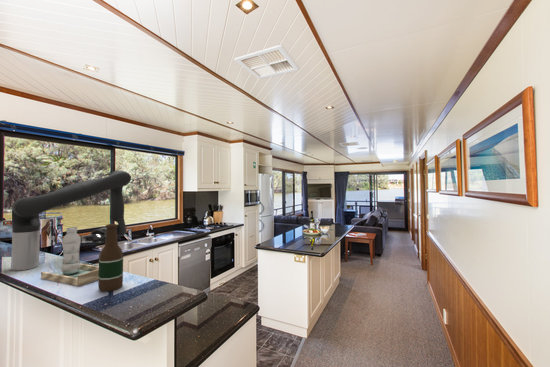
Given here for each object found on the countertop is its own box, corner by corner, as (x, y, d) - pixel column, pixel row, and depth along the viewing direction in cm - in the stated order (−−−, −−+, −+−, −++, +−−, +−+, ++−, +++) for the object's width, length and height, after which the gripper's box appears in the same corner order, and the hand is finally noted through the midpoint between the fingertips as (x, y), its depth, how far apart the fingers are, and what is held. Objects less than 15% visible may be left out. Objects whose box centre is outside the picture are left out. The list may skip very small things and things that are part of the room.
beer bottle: (127, 285, 96) (128, 223, 96) (108, 293, 88) (109, 226, 89) (112, 283, 98) (113, 222, 99) (92, 290, 91) (94, 225, 92)
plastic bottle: (84, 271, 111) (85, 226, 111) (70, 276, 104) (71, 229, 105) (71, 271, 111) (72, 226, 112) (56, 276, 105) (57, 228, 105)
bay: (40, 278, 103) (41, 268, 103) (77, 268, 116) (77, 259, 117) (79, 286, 95) (79, 275, 95) (113, 274, 108) (114, 265, 108)
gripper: (87, 228, 132) (66, 234, 116) (116, 228, 134) (100, 233, 118) (86, 242, 132) (66, 250, 116) (116, 241, 134) (100, 249, 118)
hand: (83, 241), depth 117 cm, fingers open, 8 cm apart
